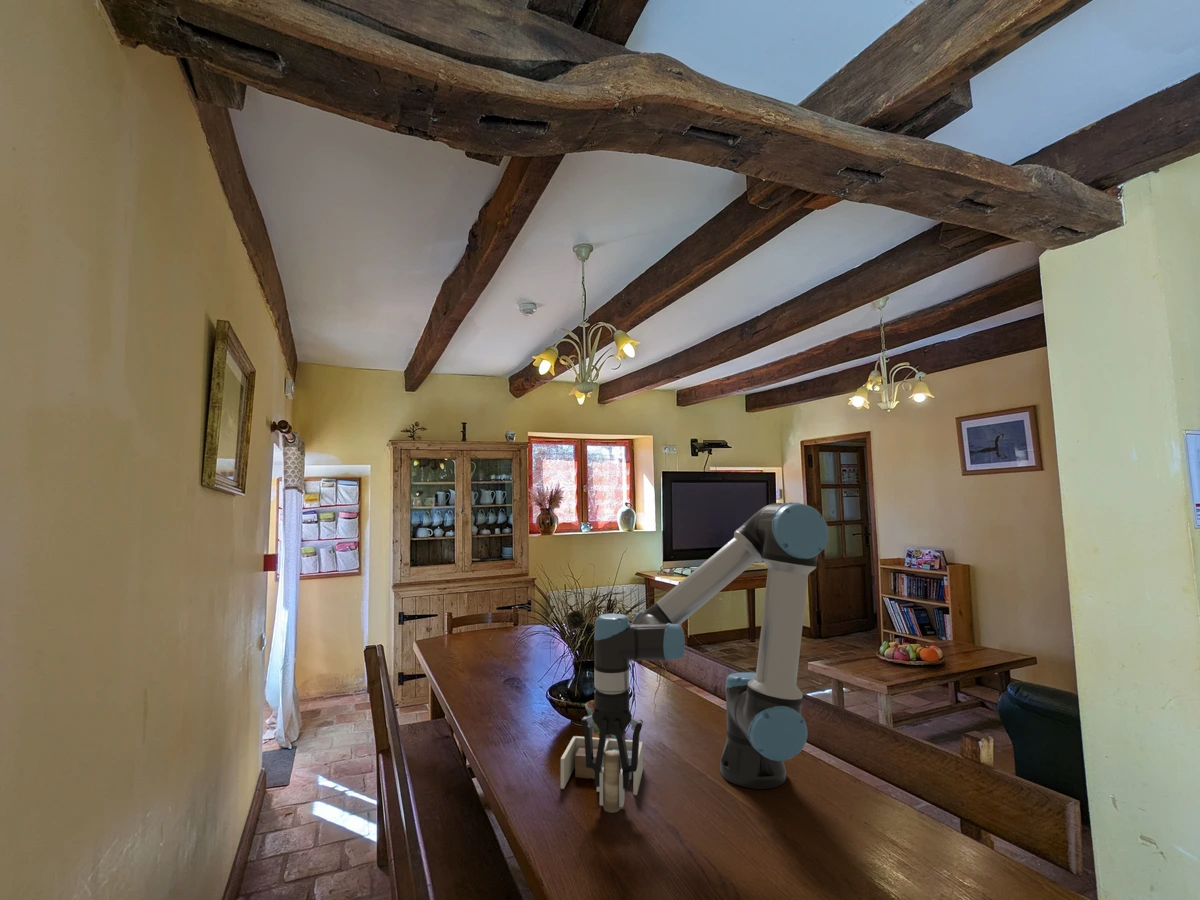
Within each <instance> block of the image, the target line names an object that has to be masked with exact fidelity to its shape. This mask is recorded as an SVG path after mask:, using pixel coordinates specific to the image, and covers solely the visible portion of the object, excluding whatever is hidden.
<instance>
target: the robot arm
mask: <svg viewBox="0 0 1200 900" xmlns="http://www.w3.org/2000/svg"><path fill="white" fill-rule="evenodd" d="M828 540H829V527H828V524H827V522H826V520H825V518H824V516H823V515H822V514H821V513H820V512H819V510H817V509H816V508H814V507H813V506H810V505H808V504H804V503H800V502H775V503H774V502H772V503H770V504H768V505H765V506H764V507H761V509H759V510H758V511H757V512H755V513H754V514H753V515H752V516H751V517H750V518H749V519H747V520H746V521H745V522H744V523H743V524H742V525H740V526H739V528H737V529H736V530H735V531H734V532H733V538H732V539H730V540H729V541H728V542H727V543H725V544H724V545H723V546H722V547H721V548H720V549H718V551H716V552H715V553H713V555H711V556H710V557H709V558H708V559H706V560H705V561H704V562H703V563H702V564H701V565H700V566H698V567H697V568H696V569H695V570H693V571H692V572H691V573H689V575H687V576H686V577H685V578H684V579H683V580H681V581H680V582H679V583H677V584H676V585H675V586H674V587H673V588H672V589H670V590H669V591H668V592H667V593H666V594H665V595H664V596H662V597H661V598H660V599H658V601H656V602H655V603H654V604H653V605H651V606H650V607H649V608H647V609H644V610H641V611H638V612H637V613H636V614H635V615H634V617H633V620H632V622H631V623H630V619H629V617H628V616H627V615H626V614H621V613H604V614H600V615H598V616H597V617H596V619H595V620H594V633H593V634H594V635H593V645H594V646H593V648H594V649H593V650H594V655H593V656H594V675H593V678H594V681H593V682H594V683H593V685H594V686H593V687H594V688H595V689H594V691H593V692H594V693H593V694H594V696H593V697H594V698H593V700H594V712H593V714H592V715H591V716H588V715H584V716H583V718H581V721H580V726H581V728H582V729H583V734H584V736H583V737H584V739H585V756H586V767H587V768H592V769H593V770H594V771H595V779H594V787H596V788H597V787H600V792H599V806H604V767H602V768H601V766H602V761H603V755H604V749H605V743H606V737H607V735H610V734H612V735H615V736H616V739H617V742H618V748H619V754H620V759H621V765H622V769H621V770H620V773H619V807H621V808H623V807H624V804H625V797H626V796H625V794H626V793H625V790H629V787H630V781H629V773H630V772H632V771H633V772H635V771H636V770H637V766H638V754H639V741H640V733H641V730H642V727H643V725H644V721H643V720H642V719H640V718H639V719H636V718H634V717H633V716H632V713H631V711H630V690H629V687H630V661H666V662H669V661H674V660H675V661H676V660H682V659H683V657H684V655H685V651H686V648H685V647H686V639H685V633H684V628H683V627H682V624H683V623H684V622H685V621H687V620H688V618H690V617H691V616H692V615H694V613H696V612H697V611H698V610H700V608H701V607H703V606H704V605H705V604H707V603H708V602H709V601H710V600H711V599H712V598H714V597H715V596H716V595H717V594H718V593H720V592H721V591H722V590H724V588H726V587H727V586H728V585H729V584H730V583H732V582H733V581H734V580H735V579H736V578H737V577H739V576H740V575H741V574H743V572H745V571H746V570H747V569H749V567H751V566H752V565H754V564H755V563H762V562H763V563H764V564H765V565H766V566H767V575H766V576H767V577H766V583H765V591H764V602H763V608H762V609H763V610H762V618H761V626H760V627H761V628H760V635H759V644H758V646H759V647H758V652H757V653H758V654H757V663H756V671H755V672H750V671H749V672H745V671H744V672H743V671H742V672H734V673H730V674H729V675H727V677H726V679H725V687H724V689H725V702H726V703H725V704H726V706H725V707H726V710H725V711H726V741H725V744H724V746H723V750H722V753H721V757H720V762H719V771H720V774H721V776H722V777H723V778H724V779H725V780H726V781H728V782H730V783H732V784H733V785H737V786H739V787H743V788H747V789H754V790H767V789H768V790H769V789H774V788H778V787H780V786H781V785H783V784H784V783H785V781H786V779H787V771H786V765H785V763H784V761H788V760H791V759H793V758H794V757H795V756H797V755H799V754H800V753H801V752H802V750H803V749H804V747H805V746H806V744H807V741H808V740H807V739H808V736H809V735H808V727H807V723H806V720H805V719H804V717H803V716H802V707H803V697H804V696H803V693H802V691H801V689H800V688H799V687H798V685H797V683H798V682H797V680H798V673H799V665H800V664H799V663H800V662H799V661H800V653H801V646H802V645H801V644H802V634H803V625H804V617H805V608H806V607H805V606H806V597H807V591H808V590H807V589H808V578H809V575H810V573H812V572H813V571H814V570H815V569H817V565H818V558H819V557H818V555H819V554H820V553H821V552H822V551H824V549H825V548H826V546H827V544H828ZM593 721H594V722H595V724H596V725H597V727H598V728H599V730H600V736H599V744H598V750H597V756H596V760H594V757H593V741H592V725H593ZM629 724H630V725H631V726H630V727H631V728H630V729H631V730H632V731H633V732H632V733H633V735H632V740H633V741H632V759H631V763H629V760H628V754H627V748H626V742H625V740H626V738H625V737H626V736H625V730H626V728H627V727H628V726H629Z"/></svg>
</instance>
